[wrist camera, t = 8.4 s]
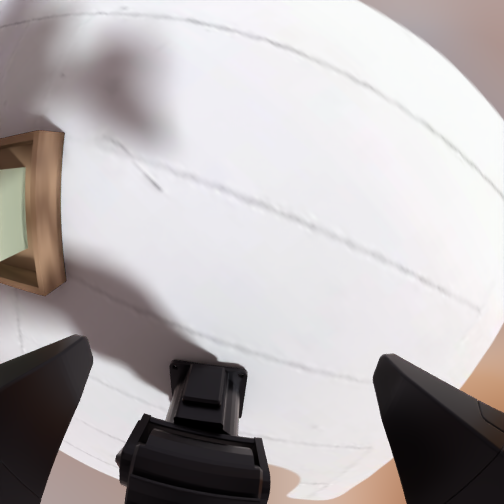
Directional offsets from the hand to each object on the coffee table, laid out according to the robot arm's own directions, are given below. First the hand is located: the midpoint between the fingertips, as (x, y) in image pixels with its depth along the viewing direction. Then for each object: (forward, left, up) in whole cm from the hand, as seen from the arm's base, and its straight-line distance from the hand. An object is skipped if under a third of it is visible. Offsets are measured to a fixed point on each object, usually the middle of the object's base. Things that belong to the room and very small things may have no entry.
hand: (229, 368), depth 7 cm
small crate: (+2, +22, -11) cm, 25 cm away
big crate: (+2, +22, -12) cm, 25 cm away
